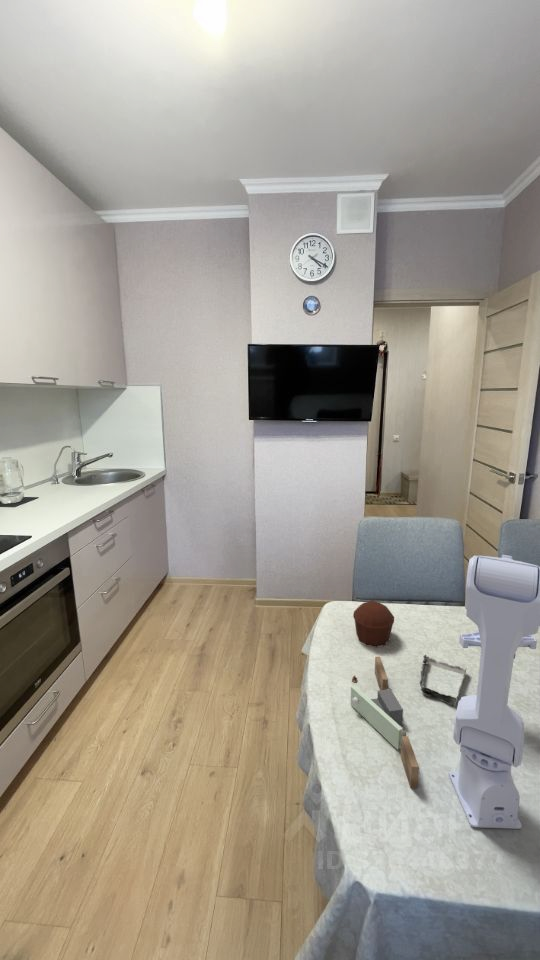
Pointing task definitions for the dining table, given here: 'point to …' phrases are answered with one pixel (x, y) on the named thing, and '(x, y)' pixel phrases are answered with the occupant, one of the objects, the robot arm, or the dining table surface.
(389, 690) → the grey stepped block
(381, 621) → the muffin
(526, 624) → the robot arm
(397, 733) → the door
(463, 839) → the dining table surface
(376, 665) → the brown wooden plank
